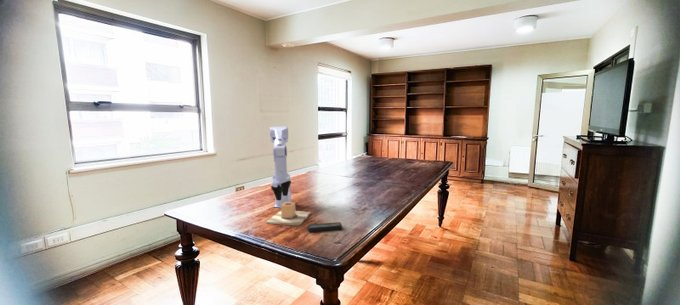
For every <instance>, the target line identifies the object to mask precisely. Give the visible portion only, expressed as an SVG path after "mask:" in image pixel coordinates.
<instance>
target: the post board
mask: <svg viewBox="0 0 680 305" xmlns="http://www.w3.org/2000/svg"><path fill="white" fill-rule="evenodd" d="M295 211H296V215H295V216H294V217H293V218H282V214H281V210H279V211H278V212H277V213H275V214H274V215H272V216H271V217H270V218H269V219H268V220H266V224H270V225H282V226H283V225H284V226H293V227H299V226H300V225H301V224H302V223H304V221H306V219H307V218H309V216H310V215H311V211H300V210H299V211H298V210H295Z"/></svg>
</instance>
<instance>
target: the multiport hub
mask: <svg viewBox="0 0 680 305" xmlns="http://www.w3.org/2000/svg"><path fill="white" fill-rule="evenodd" d="M342 230H343V225H342V223H341V222H339V221H338V222H337V221H336V222H325V223H323V222H322V223H313V224H312V223H311V224H307V231H308V233H309V234H310V233H321V232H333V231H334V232H335V231H342Z"/></svg>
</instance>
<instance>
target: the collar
mask: <svg viewBox="0 0 680 305" xmlns="http://www.w3.org/2000/svg"><path fill="white" fill-rule="evenodd" d="M280 209H281V210H280V211H281V214H282V218H293V217H294V216H295V215H296V211H297V210H296V202H293V203H290V202H285V203H284V204H282V205H281V208H280Z"/></svg>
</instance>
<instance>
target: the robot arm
mask: <svg viewBox="0 0 680 305" xmlns="http://www.w3.org/2000/svg"><path fill="white" fill-rule="evenodd" d="M269 134H270V142H271V143H272V144H273V147H272V155H273V162H274V174H273V175H272V178H271V184H272V185H271V186H270V188H271V190H272V192H273V194H274V196H275V197H274V199H275V204H274V205H273V206H272V208H280V209H281V205H282V204H284V203H285V202H290V203H294V202H293V201H292V191H291V190H290V189H291V187H292V185H291V184H292V181H291V175H290V174H289V173H288V164H287V157H288V147H287V143H288V142H289V126H270V128H269Z"/></svg>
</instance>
